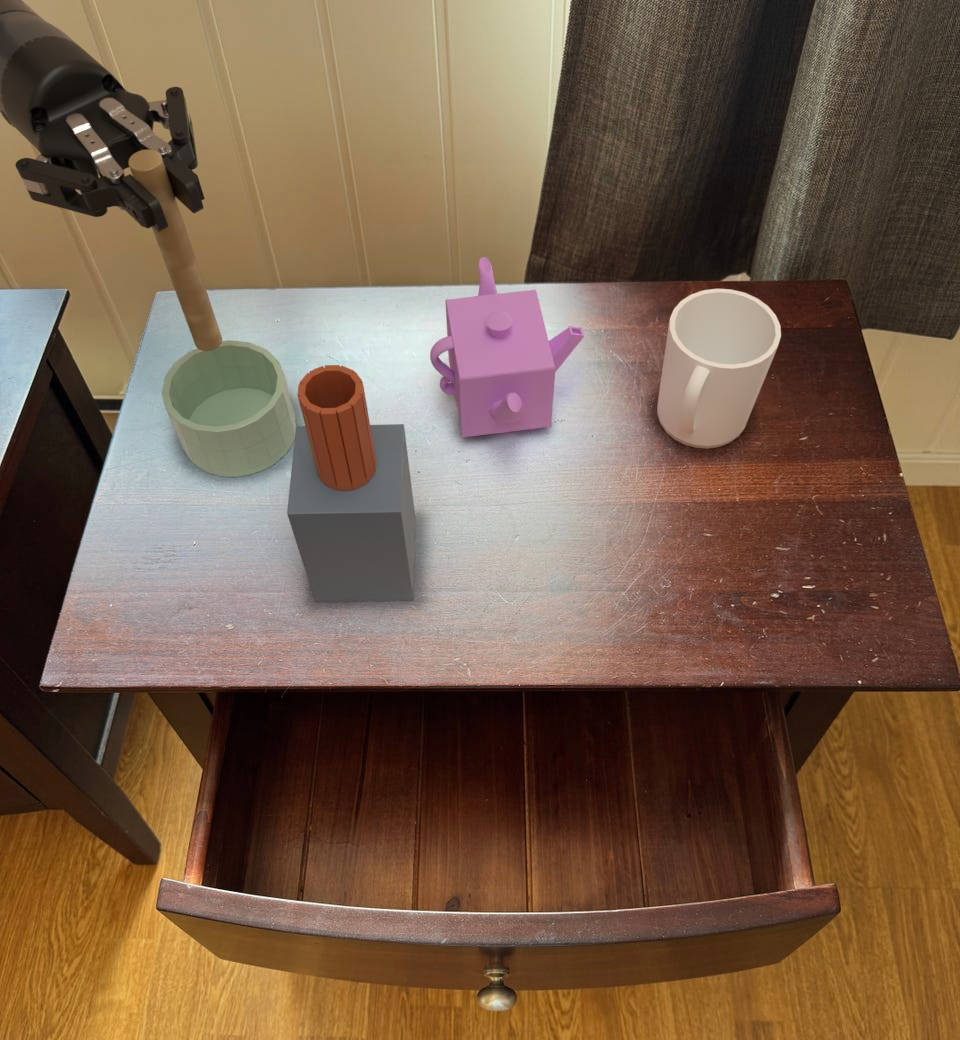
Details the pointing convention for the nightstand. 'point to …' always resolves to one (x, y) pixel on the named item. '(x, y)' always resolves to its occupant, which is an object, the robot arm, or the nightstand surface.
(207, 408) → the bowl
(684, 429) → the mug
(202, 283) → the stick
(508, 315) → the teapot
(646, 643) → the nightstand surface
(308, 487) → the holder
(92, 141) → the robot arm
